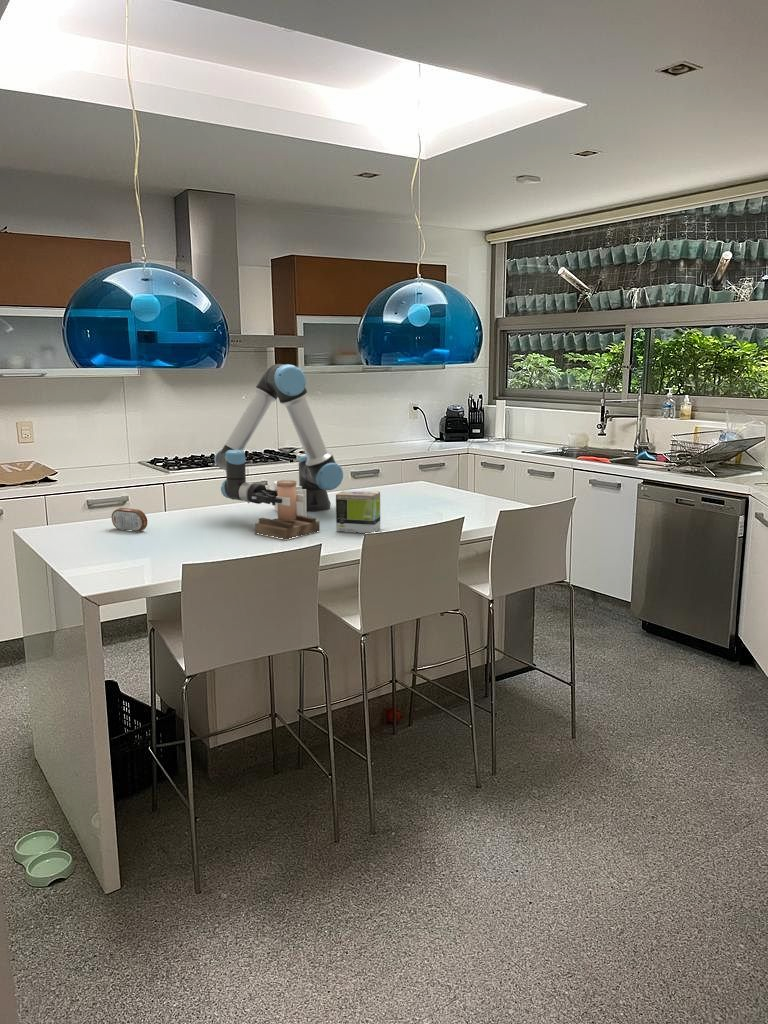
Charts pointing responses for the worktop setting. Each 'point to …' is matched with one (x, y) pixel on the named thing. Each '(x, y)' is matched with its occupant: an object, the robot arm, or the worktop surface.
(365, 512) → the tea box
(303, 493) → the bracket
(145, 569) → the worktop surface
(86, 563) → the worktop surface
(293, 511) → the terracotta canister
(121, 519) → the tin
